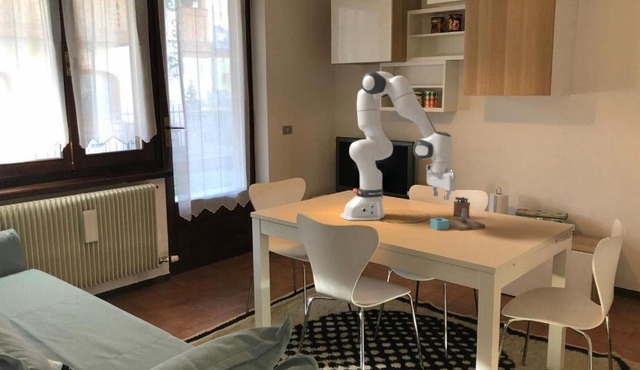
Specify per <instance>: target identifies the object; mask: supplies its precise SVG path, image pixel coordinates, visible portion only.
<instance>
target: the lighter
mask: <svg viewBox="0 0 640 370" xmlns="http://www.w3.org/2000/svg"><path fill="white" fill-rule="evenodd" d="M454 200H455V201H453V215H452V216H453V218H459V219H461V216H462V209H463V208H466V209H467V218H469V219H470V205H471V202H468V201H469V198H468V197H464V196H462V197H461V196H455V197H454Z"/></svg>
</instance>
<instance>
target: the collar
mask: <svg viewBox="0 0 640 370" xmlns="http://www.w3.org/2000/svg"><path fill="white" fill-rule="evenodd" d="M449 220H450V219H446V218H443V217H434V218H433V217H432V218H430V224H429V225H430V228H431V229H434V230H436V231H441V230H449V227H450V226H449Z"/></svg>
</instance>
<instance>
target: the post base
mask: <svg viewBox="0 0 640 370" xmlns="http://www.w3.org/2000/svg"><path fill="white" fill-rule="evenodd" d="M448 220H449V227H450V228H452V229H454V230H457V231H468V230H477V229H478V230H479V229H485V228H486V224H485V223H481V222H479V221H477V220H475V219H471V218H470V217H469V218H467V209H466V208H463V209H462V216H461V218H458V219H457V218H455V219H453V218H452V219H448Z"/></svg>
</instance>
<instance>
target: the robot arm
mask: <svg viewBox="0 0 640 370" xmlns="http://www.w3.org/2000/svg"><path fill="white" fill-rule="evenodd" d="M360 85H361V89H360V90H359V91H358V93H357V95H356V97H357V98H356V113H357V126H358V128H359V130H360V131H362V132H363V133H364V135H365V138H366V139H359V140H356V141H353V142H352V143H351V144H350V146H349V150H348V151H349V153H348V154H349V156H350V158H351V159H352V160H353V161H354V162H355V164H356V165H357V168H358V172H359V188H358V189H357V188H353V189H352V192H353V193H355V194H356V195H355V196H354V197H352V199H351V200H349V201H348V202H347V203H345V206H344V211H343V212H341V213H340V214H339V216H340V218H342V219H344V220H346V221H378V220H381V219H382V218H385V211H384V205H383V199H384V197H383V196H384V191H383V190H384V188H383V173H382V171H381V170H380V169H378V167H377V164H376V161H382V160H385V159H387V158H389V157H391V155H392V154H393V150H394V146H393V143H392V141H391V140H390V139H389V138H388V137H387V136H386V135H385V133H384V130H383V126H382V121H381V114H380V111H381V110H380V99H381V97H382V98H386V97H387V96H389V98H390V100H391V102H392V105H393V108H394V109H395V111H396V112H397V114H398V115H399V116H400V117H402V118H405V119H408V120H409V121H412V122H413V123H415V124H416V125H417V127H418V128H419V130H420V132H421V134H422V136H423V138H420V139H418V140H416V141H415V142H414V144H413V146H412V153H413V155H414V157H415V158H416V159H419V160H431V163H429V164H427V165H426V169H425V170H426V183H427V186H430V187H431V191H432V196H433V197H439V192H438V189H439V190H440V189H441V190H444V193H445V195H444V196H443V200H445V201H449V200H450V196H451V194H452V192H455V191H456V190H457V176H456V174H455V172H454V171H453V170H452V169H453V168H452V167H453V166H452V165H453V159H452V154H453V138H452V135H451V134H450V133H449V132H445V131H437V130H436V129H435V126H434V125H433V123H432V121H431V119H430V118H429V116H428V114H427V112H426V111H425V109H424V108H423V107H422V105H421V103H420V101H419V100H418V98H417V96H416V94H415V91H414V89H413V87H412V85H411V84H410V82H409V81H408V79H407V78H406V77H405V76H403V75H396V74H395V73H393V72H387V71H370V72H367V73H365V74H364V75H363V76H362V77H361V82H360Z"/></svg>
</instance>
